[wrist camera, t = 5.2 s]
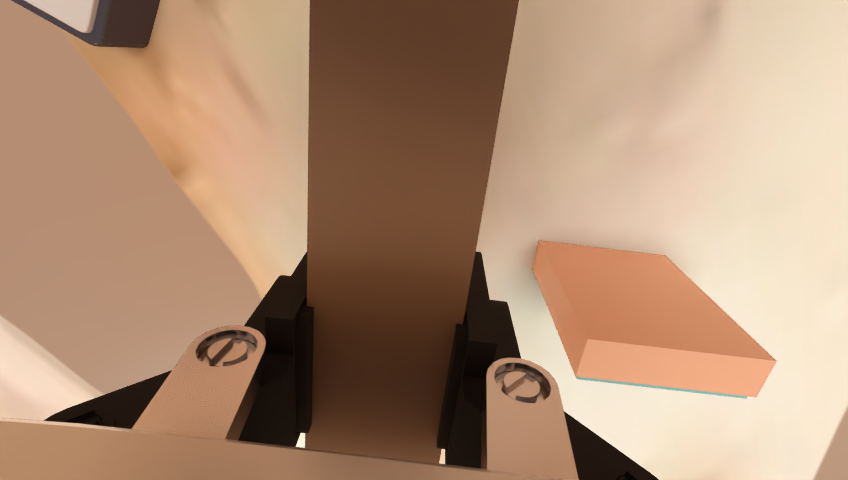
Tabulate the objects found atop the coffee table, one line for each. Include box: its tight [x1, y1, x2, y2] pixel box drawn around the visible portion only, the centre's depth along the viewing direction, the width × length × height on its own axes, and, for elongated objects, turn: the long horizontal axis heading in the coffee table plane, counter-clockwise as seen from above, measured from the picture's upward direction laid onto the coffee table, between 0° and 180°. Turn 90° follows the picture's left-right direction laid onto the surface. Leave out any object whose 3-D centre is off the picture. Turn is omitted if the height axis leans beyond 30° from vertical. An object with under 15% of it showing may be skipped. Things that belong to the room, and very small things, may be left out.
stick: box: [305, 0, 519, 464], centre depth 11 cm, size 18×3×4 cm, turn 173°
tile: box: [532, 241, 776, 398], centre depth 23 cm, size 2×8×10 cm, turn 83°
